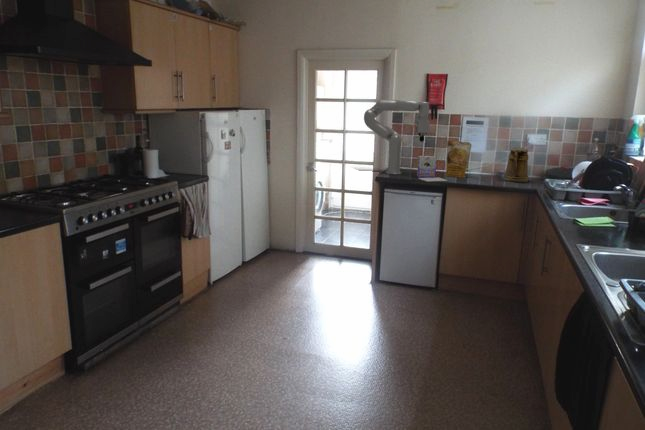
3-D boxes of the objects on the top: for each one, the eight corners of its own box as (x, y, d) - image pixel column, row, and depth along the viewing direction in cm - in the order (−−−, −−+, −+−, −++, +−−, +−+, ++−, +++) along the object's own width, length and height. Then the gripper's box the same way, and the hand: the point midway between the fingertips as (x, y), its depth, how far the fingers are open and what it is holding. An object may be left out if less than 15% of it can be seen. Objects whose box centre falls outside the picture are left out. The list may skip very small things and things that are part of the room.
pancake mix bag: (445, 174, 393) (448, 140, 386) (468, 177, 382) (472, 142, 375) (442, 175, 387) (445, 140, 381) (465, 178, 376) (469, 142, 370)
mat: (418, 178, 371) (418, 178, 371) (438, 177, 376) (439, 177, 376) (426, 181, 358) (426, 181, 358) (448, 181, 363) (448, 180, 363)
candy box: (434, 176, 380) (435, 155, 376) (435, 177, 374) (436, 156, 371) (416, 176, 381) (417, 155, 378) (417, 177, 375) (418, 156, 372)
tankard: (529, 180, 377) (533, 148, 371) (526, 184, 357) (530, 150, 351) (504, 177, 385) (508, 146, 379) (500, 181, 365) (504, 148, 359)
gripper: (416, 118, 372) (415, 141, 377) (434, 118, 376) (432, 141, 381) (412, 117, 379) (410, 141, 384) (429, 117, 383) (427, 141, 388)
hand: (421, 141), depth 382 cm, fingers closed
